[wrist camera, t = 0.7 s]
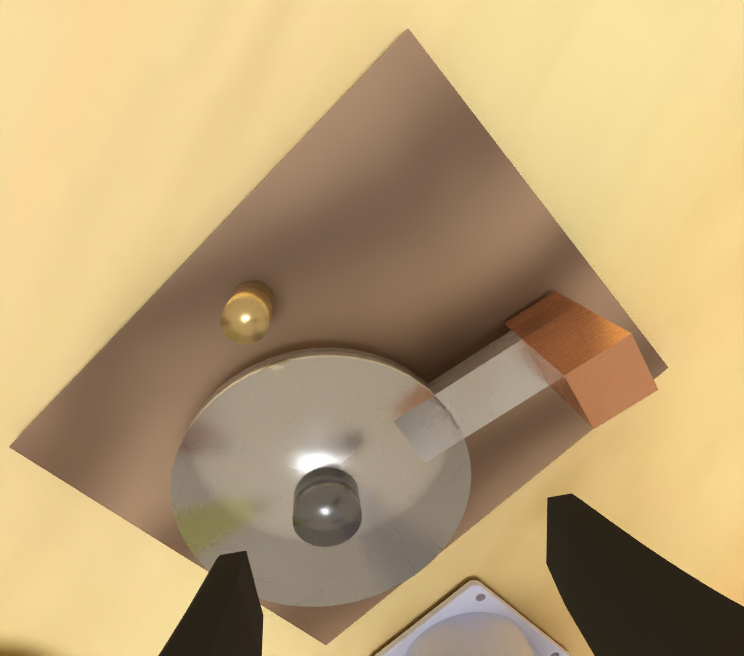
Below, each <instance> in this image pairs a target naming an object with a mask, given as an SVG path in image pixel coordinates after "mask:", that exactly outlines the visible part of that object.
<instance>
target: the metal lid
mask: <svg viewBox="0 0 744 656" xmlns="http://www.w3.org/2000/svg"><path fill="white" fill-rule="evenodd" d="M504 324H505V325H506V327H507V329H508V330H509V332H508V333H507V334H505V335H504V336H502V337H500V338H499V339H497V340H496V341H494V342H493V343H491V344H489V345H488V346H486V347H485V348H483V349H482V350H480V351H479V352H477V353H475V354H474V355H472V356H471V357H469V358H468V359H466V360H465V361H463V362H461V363H460V364H458V365H457V366H455V367H454V368H452V369H451V370H449V371H447V372H446V373H444V374H443V375H441V376H440V377H438V378H436V379H435V380H433V381H432V382H430V383H429V384H428V383H427V382H426V381H425V380H423V379H422V378H421V377H420V376H418V375H417V374H415V373H414V372H412V371H411V370H409V369H408V368H406V367H404V366H402V365H400V364H398V363H396V362H394V361H392V360H390V359H387V358H384V357H381V356H378V355H376V354H373V353H368V352H364V351H359V350H354V349H345V348H333V347H331V348H310V349H303V350H297V351H291V352H287V353H284V354H280V355H277V356H273V357H270V358H268V359H265V360H263V361H261V362H258V363H256V364H254V365H251V366H250V367H248V368H246V369H245V370H243V371H241V372H239V373H238V374H236V375H234V376H233V377H232V378H230V379H229V380H228V381H227V382H225V383H224V384H223V385H221V386H220V387H219V388H218V389H217V390H216V391H215V392H214V393H213V394H212V395H211V396H210V397H209V398H208V399H207V400H206V401H205V402H204V404H203V405H202V406H201V408H200V409H199V411H198V412H197V413H196V415H195V416H194V418H193V420H192V422H191V424H190V425H189V427H188V429H187V431H186V433H185V435H184V438H183V440H182V442H181V444H180V446H179V449H178V452H177V455H176V458H175V461H174V464H173V470H172V476H171V502H172V509H173V514H174V517H175V520H176V523H177V526H178V529H179V531H180V533H181V535H182V537H183V539H184V541H185V543H186V545H187V546H188V547H189V549H190V550H191V551H192V553H193V554H194V556H195V557H196V558H197V559H198V560H199V561H200V562H201V563H202V564H203V565H204V566H205V567H206V568H207V569H208V570H209V571H210V569H211V568H212V566H213V564H214V562H215V560H216V559H217V558H218V557H219V555H223V554H229V553H234V552H240V551H247V555H248V559H249V563H250V567H251V570H252V574H253V578H254V582H255V586H256V590H257V594H258V597H259V598H260V599H263V600H266V601H269V602H274V603H279V604H284V605H292V606H302V607H322V606H333V605H341V604H346V603H351V602H356V601H359V600H363V599H366V598H370V597H373V596H375V595H378V594H380V593H383V592H385V591H388V590H390V589H392V588H394V587H395V586H397V585H399V584H401V583H403V582H405V581H406V580H408V579H409V578H411V577H412V576H414V575H415V574H417V573H418V572H419V571H421V570H422V569H423V568H424V567H425V566H427V565H428V564H429V563H430V562H431V561H432V560H433V559H434V558H435V557H436V556H437V555H438V554H439V553H440V552H441V551H442V550H443V548H444V547H445V546H446V544H447V543H448V542H449V540H450V539H451V538H452V536H453V535H454V533H455V531H456V529H457V527H458V526H459V524H460V522H461V519H462V517H463V514H464V512H465V509H466V506H467V502H468V498H469V494H470V486H471V463H470V457H469V453H468V448H467V444H466V442H465V439H464V438H466V437H467V436H469V435H470V434H472V433H474V432H475V431H477V430H478V429H480V428H482V427H483V426H485V425H486V424H488V423H490V422H491V421H493V420H494V419H496V418H498V417H499V416H501V415H503V414H504V413H506V412H507V411H509V410H511V409H512V408H514V407H515V406H517V405H519V404H520V403H522V402H523V401H525V400H527V399H528V398H530V397H531V396H533V395H535V394H536V393H538V392H539V391H541V390H543V389H544V388H546V387H547V386H550V387H551V388H552V389H553V390H554V391H555V392H556V393H558V394H559V395H560V396H561V397H562V398H563V399H564V400H565V401H566V402H567V403H568V404H569V405H570V406H571V407H572V408H573V409H574V410H575V411H576V412H577V413H578V414H579V415H580V416H581V417H582V418H583V419H584V420H585V421H586V422H587V423H588V424H589V425H590V426H591V427H593V428H596V427H598V426H599V425H601V424H603V423H604V422H606V421H607V420H609V419H611V418H612V417H614V416H616V415H617V414H619V413H621V412H622V411H624V410H626V409H627V408H629V407H631V406H632V405H634V404H635V403H637V402H639V401H640V400H642V399H644V398H645V397H647V396H649V395H650V394H652V393H654V392H655V391H657V390H658V388H657V386H656V384H655V382H654V380H653V378H652V375H651V373H650V371H649V369H648V367H647V365H646V363H645V361H644V359H643V356H642V354H641V352H640V350H639V348H638V346H637V344H636V342H635V340H634V337H633V335H632V333H630V332H628V331H626V330H624V329H623V328H621V327H619V326H617V325H615V324H614V323H612V322H610V321H608V320H606V319H605V318H603V317H601V316H599V315H597V314H596V313H594V312H592V311H590V310H589V309H587V308H585V307H583V306H581V305H580V304H578V303H576V302H574V301H572V300H571V299H569V298H567V297H565V296H563V295H562V294H560V293H558V292H556V291H554V292H552V293H551V294H549V295H548V296H546V297H545V298H543V299H542V300H540V301H538V302H537V303H535V304H534V305H532V306H531V307H529V308H528V309H526V310H525V311H523V312H521V313H520V314H518V315H517V316H515V317H514V318H512V319H511V320H509V321H507V322H506V323H504Z"/></svg>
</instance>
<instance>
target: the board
mask: <svg viewBox="0 0 744 656" xmlns="http://www.w3.org/2000/svg"><path fill="white" fill-rule="evenodd" d="M249 280H256V281H260V282H263V283H264V284H266V285H267V286H268V287H269V288H270V289H271V290H272V292H273V294H274V299H275V303H274V308H273V312H272V316H271V320H270V324H269V327H268V331H267V333H266V334H265V336H264V337H263V338H262V339H260V340H259V341H257V342H255V343H252V344H240V343H236V342H234V341H232V340H231V339H229V338H228V337H227V336H226V335H225V334H224V332H223V330H222V328H221V324H220V317H221V313H222V311H223V309H224V308H225V306H226V304H227V302H228V301H229V299H230V297H231V296H232V294H233V292H234V290H235V289H236V287H237V286H238V285H239V284H241V283H243V282H245V281H249ZM554 291H556V292H558V293H560V294H562V295H563V296H565V297H567V298H569V299H571V300H572V301H574V302H576V303H578V304H580V305H581V306H583V307H585V308H587V309H589V310H590V311H592V312H594V313H596V314H597V315H599V316H601V317H603V318H605V319H606V320H608V321H610V322H612V323H614V324H615V325H617V326H619V327H621V328H623V329H624V330H626V331H628V332H630V333H632V335H633V337H634V340H635V342H636V344H637V346H638V348H639V350H640V352H641V354H642V356H643V359H644V361H645V363H646V365H647V367H648V369H649V371H650V373H651V375H652V378H653V380H654V379H655V378H656V377H657V376H659V375H660V374H661V373H662V372H664V371H665V370H666V369H667V368H668V367H667V365H666V364H665V363H664V361H663V360H662V359H661V357H660V356H659V355H658V354H657V352H656V351H655V350H654V348H653V347H652V346H651V344H650V343H649V342H648V341H647V339H646V338H645V337H644V335H643V334H642V333H641V331H640V330H639V329H638V328H637V326H636V325H635V324H634V322H633V321H632V320H631V318H630V317H629V316H628V314H627V313H626V312H625V311H624V309H623V308H622V307H621V305H620V304H619V303H618V301H617V300H616V299H615V298H614V296H613V295H612V294H611V292H610V291H609V290H608V288H607V287H606V286H605V284H604V283H603V282H602V281H601V279H600V278H599V277H598V275H597V274H596V273H595V271H594V270H593V269H592V268H591V266H590V265H589V264H588V262H587V261H586V260H585V258H584V257H583V256H582V255H581V253H580V252H579V251H578V249H577V248H576V247H575V245H574V244H573V243H572V241H571V240H570V239H569V238H568V236H567V235H566V234H565V232H564V231H563V230H562V228H561V227H560V226H559V225H558V223H557V222H556V221H555V219H554V218H553V217H552V215H551V214H550V213H549V211H548V210H547V209H546V208H545V206H544V205H543V204H542V202H541V201H540V200H539V198H538V197H537V196H536V195H535V193H534V192H533V191H532V189H531V188H530V187H529V185H528V184H527V183H526V182H525V180H524V179H523V178H522V176H521V175H520V174H519V172H518V171H517V170H516V168H515V167H514V166H513V165H512V163H511V162H510V161H509V159H508V158H507V157H506V155H505V154H504V153H503V152H502V150H501V149H500V148H499V146H498V145H497V144H496V142H495V141H494V140H493V138H492V137H491V136H490V135H489V133H488V132H487V131H486V129H485V128H484V127H483V125H482V124H481V123H480V122H479V120H478V119H477V118H476V116H475V115H474V114H473V112H472V111H471V110H470V109H469V107H468V106H467V105H466V103H465V102H464V101H463V99H462V98H461V97H460V95H459V94H458V93H457V92H456V90H455V89H454V88H453V86H452V85H451V84H450V82H449V81H448V80H447V79H446V77H445V76H444V75H443V73H442V72H441V71H440V69H439V68H438V67H437V65H436V64H435V63H434V62H433V60H432V59H431V58H430V56H429V55H428V54H427V52H426V51H425V50H424V49H423V47H422V46H421V45H420V43H419V42H418V41H417V39H416V38H415V37H414V36H413V34H412V33H411V32H410V30H409V29H407V30H406V31H405V32H404V33H403V34H402V35H401V36H400V37H399V38H398V39H397V40H396V41H395V42H394V43H393V44H392V46H391V47H390V48H389V49H388V50H387V51H386V52H385V53H384V54H383V55H382V56H381V57H380V58H379V59H378V60H377V61H376V62H375V63H374V64H373V65H372V67H371V68H370V69H369V70H368V71H367V72H366V73H365V74H364V75H363V76H362V77H361V78H360V79H359V80H358V81H357V82H356V83H355V84H354V85H353V86H352V88H351V89H350V90H349V91H348V92H347V93H346V94H345V95H344V96H343V97H342V98H341V99H340V100H339V101H338V102H337V103H336V104H335V105H334V106H333V107H332V108H331V110H330V111H329V112H328V113H327V114H326V115H325V116H324V117H323V118H322V119H321V120H320V121H319V122H318V123H317V124H316V125H315V126H314V127H313V128H312V129H311V131H310V132H309V133H308V134H307V135H306V136H305V137H304V138H303V139H302V140H301V141H300V142H299V143H298V144H297V145H296V146H295V147H294V148H293V149H292V150H291V152H290V153H289V154H288V155H287V156H286V157H285V158H284V159H283V160H282V161H281V162H280V163H279V164H278V165H277V166H276V167H275V168H274V169H273V170H272V171H271V173H270V174H269V175H268V176H267V177H266V178H265V179H264V180H263V181H262V182H261V183H260V184H259V185H258V186H257V187H256V188H255V189H254V190H253V191H252V192H251V193H250V195H249V196H248V197H247V198H246V199H245V200H244V201H243V202H242V203H241V204H240V205H239V206H238V207H237V208H236V209H235V210H234V211H233V212H232V213H231V214H230V216H229V217H228V218H227V219H226V220H225V221H224V222H223V223H222V224H221V225H220V226H219V227H218V228H217V229H216V230H215V231H214V232H213V233H212V234H211V235H210V237H209V238H208V239H207V240H206V241H205V242H204V243H203V244H202V245H201V246H200V247H199V248H198V249H197V250H196V251H195V252H194V253H193V254H192V255H191V256H190V257H189V259H188V260H187V261H186V262H185V263H184V264H183V265H182V266H181V267H180V268H179V269H178V270H177V271H176V272H175V273H174V274H173V275H172V276H171V277H170V278H169V280H168V281H167V282H166V283H165V284H164V285H163V286H162V287H161V288H160V289H159V290H158V291H157V292H156V293H155V294H154V295H153V296H152V297H151V298H150V299H149V301H148V302H147V303H146V304H145V305H144V306H143V307H142V308H141V309H140V310H139V311H138V312H137V313H136V314H135V315H134V316H133V317H132V318H131V319H130V320H129V321H128V323H127V324H126V325H125V326H124V327H123V328H122V329H121V330H120V331H119V332H118V333H117V334H116V335H115V336H114V337H113V338H112V339H111V340H110V341H109V342H108V344H107V345H106V346H105V347H104V348H103V349H102V350H101V351H100V352H99V353H98V354H97V355H96V356H95V357H94V358H93V359H92V360H91V361H90V362H89V363H88V365H87V366H86V367H85V368H84V369H83V370H82V371H81V372H80V373H79V374H78V375H77V376H76V377H75V378H74V379H73V380H72V381H71V382H70V383H69V384H68V385H67V387H66V388H65V389H64V390H63V391H62V392H61V393H60V394H59V395H58V396H57V397H56V398H55V399H54V400H53V401H52V402H51V403H50V404H49V405H48V406H47V408H46V409H45V410H44V411H43V412H42V413H41V414H40V415H39V416H38V417H37V418H36V419H35V420H34V421H33V422H32V423H31V424H30V425H29V426H28V427H27V429H26V430H25V431H24V432H23V433H22V434H21V435H20V436H19V437H18V438H17V439H16V440H15V441H14V442H13V443H12V444H11V445H10V446H9V447H10V448H11V449H13V450H15V451H16V452H18V453H19V454H21V455H23V456H24V457H26V458H27V459H29V460H31V461H32V462H34V463H35V464H37V465H39V466H40V467H42V468H43V469H45V470H47V471H48V472H50V473H51V474H53V475H55V476H56V477H58V478H59V479H61V480H63V481H64V482H66V483H67V484H69V485H71V486H72V487H74V488H75V489H77V490H79V491H80V492H82V493H83V494H85V495H87V496H88V497H90V498H91V499H93V500H95V501H96V502H98V503H99V504H101V505H103V506H104V507H106V508H107V509H109V510H111V511H112V512H114V513H115V514H117V515H119V516H120V517H122V518H123V519H125V520H127V521H128V522H130V523H131V524H133V525H135V526H136V527H138V528H139V529H141V530H143V531H144V532H146V533H147V534H149V535H151V536H152V537H154V538H155V539H157V540H159V541H160V542H162V543H163V544H165V545H167V546H168V547H170V548H171V549H173V550H175V551H176V552H178V553H179V554H181V555H183V556H184V557H186V558H187V559H189V560H191V561H192V562H194V563H195V564H197V565H199V566H200V567H202V568H203V569H205V570H207V571H208V572H209V570H208V569H207V568H206V567H205V566H204V565H203V564H202V563H201V562H200V561H199V560H198V559H197V558H196V557H195V556H194V554H193V553H192V551H191V550H190V549H189V547H188V546H187V545H186V543H185V541H184V539H183V537H182V535H181V533H180V531H179V529H178V526H177V523H176V520H175V517H174V514H173V509H172V502H171V476H172V470H173V464H174V461H175V458H176V455H177V452H178V449H179V446H180V444H181V442H182V440H183V438H184V435H185V433H186V431H187V429H188V427H189V425H190V424H191V422H192V420H193V418H194V416H195V415H196V413H197V412H198V411H199V409H200V408H201V406H202V405H203V404H204V402H205V401H206V400H207V399H208V398H209V397H210V396H211V395H212V394H213V393H214V392H215V391H216V390H217V389H218V388H219V387H220V386H221V385H223V384H224V383H225V382H227V381H228V380H229V379H230V378H232V377H233V376H234V375H236V374H238V373H239V372H241V371H243V370H245V369H246V368H248V367H250V366H251V365H254V364H256V363H258V362H261V361H263V360H265V359H268V358H270V357H273V356H277V355H280V354H284V353H287V352H291V351H297V350H303V349H310V348H331V347H333V348H345V349H354V350H359V351H364V352H368V353H373V354H376V355H378V356H381V357H384V358H387V359H390V360H392V361H394V362H396V363H398V364H400V365H402V366H404V367H406V368H408V369H409V370H411V371H412V372H414V373H415V374H417V375H418V376H420V377H421V378H422V379H423V380H425V381H426V382H427V383H428V384H429V383H430V382H432V381H433V380H435V379H436V378H438V377H440V376H441V375H443V374H444V373H446V372H447V371H449V370H451V369H452V368H454V367H455V366H457V365H458V364H460V363H461V362H463V361H465V360H466V359H468V358H469V357H471V356H472V355H474V354H475V353H477V352H479V351H480V350H482V349H483V348H485V347H486V346H488V345H489V344H491V343H493V342H494V341H496V340H497V339H499V338H500V337H502V336H504V335H505V334H507V333H508V332H509V330H508V329H507V327H506V325H505V324H504V323H506V322H507V321H509V320H511V319H512V318H514V317H515V316H517V315H518V314H520V313H521V312H523V311H525V310H526V309H528V308H529V307H531V306H532V305H534V304H535V303H537V302H538V301H540V300H542V299H543V298H545V297H546V296H548V295H549V294H551V293H552V292H554ZM592 429H593V427H591V426H590V425H589V424H588V423H587V422H586V421H585V420H584V419H583V418H582V417H581V416H580V415H579V414H578V413H577V412H576V411H575V410H574V409H573V408H572V407H571V406H570V405H569V404H568V403H567V402H566V401H565V400H564V399H563V398H562V397H561V396H560V395H559V394H558V393H556V392H555V391H554V390H553V389H552V388H551V387H550V386H547V387H546V388H544V389H543V390H541V391H539V392H538V393H536V394H535V395H533V396H531V397H530V398H528V399H527V400H525V401H523V402H522V403H520V404H519V405H517V406H515V407H514V408H512V409H511V410H509V411H507V412H506V413H504V414H503V415H501V416H499V417H498V418H496V419H494V420H493V421H491V422H490V423H488V424H486V425H485V426H483V427H482V428H480V429H478V430H477V431H475V432H474V433H472V434H470V435H469V436H467V437H466V438H464V439H465V442H466V444H467V448H468V453H469V457H470V463H471V486H470V494H469V498H468V502H467V506H466V509H465V512H464V514H463V517H462V519H461V522H460V524H459V526H458V527H457V529H456V531H455V533H454V535H453V536H452V538H451V539H450V540H449V542H448V543H447V544H446V546H445V547H444V548H443V550H444V549H445V548H447V547H448V546H449V545H450V544H451V543H453V542H454V541H455V540H456V539H458V538H459V537H460V536H461V535H463V534H464V533H465V532H466V531H467V530H469V529H470V528H471V527H472V526H474V525H475V524H476V523H477V522H479V521H480V520H481V519H482V518H484V517H485V516H486V515H487V514H488V513H490V512H491V511H492V510H493V509H495V508H496V507H497V506H498V505H500V504H501V503H502V502H503V501H504V500H506V499H507V498H508V497H509V496H511V495H512V494H513V493H514V492H516V491H517V490H518V489H519V488H521V487H522V486H523V485H524V484H525V483H527V482H528V481H529V480H530V479H532V478H533V477H534V476H535V475H537V474H538V473H539V472H540V471H541V470H543V469H544V468H545V467H546V466H548V465H549V464H550V463H551V462H553V461H554V460H555V459H556V458H558V457H559V456H560V455H561V454H562V453H564V452H565V451H566V450H567V449H569V448H570V447H571V446H572V445H574V444H575V443H576V442H577V441H578V440H580V439H581V438H582V437H583V436H585V435H586V434H587V433H588V432H590V431H591V430H592ZM443 550H442V551H443ZM442 551H441V552H442ZM401 584H402V583H401ZM401 584H399V585H397V586H395V587H394V588H392V589H390V590H388V591H385V592H383V593H380V594H378V595H375V596H373V597H370V598H366V599H363V600H359V601H356V602H351V603H346V604H341V605H333V606H322V607H302V606H292V605H284V604H279V603H274V602H269V601H266V600H263V599H260V598H259V601H260V604H261V605H262V606H264V607H266V608H267V609H269V610H270V611H272V612H274V613H275V614H277V615H278V616H280V617H282V618H283V619H285V620H286V621H288V622H290V623H291V624H293V625H294V626H296V627H298V628H299V629H301V630H302V631H304V632H306V633H307V634H309V635H310V636H312V637H314V638H315V639H317V640H318V641H320V642H322V643H323V644H325V645H327V644H328V643H329V642H331V641H332V640H333V639H334V638H336V637H337V636H338V635H339V634H340V633H342V632H343V631H344V630H345V629H347V628H348V627H349V626H350V625H352V624H353V623H354V622H355V621H357V620H358V619H359V618H360V617H361V616H363V615H364V614H365V613H366V612H368V611H369V610H370V609H371V608H373V607H374V606H375V605H376V604H377V603H379V602H380V601H381V600H382V599H384V598H385V597H386V596H387V595H389V594H390V593H391V592H392V591H394V590H395V589H396V588H397V587H398V586H400V585H401Z"/></svg>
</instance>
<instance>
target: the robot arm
mask: <svg viewBox="0 0 744 656" xmlns="http://www.w3.org/2000/svg"><path fill="white" fill-rule="evenodd" d="M546 563H547V566H548V568H549V570H550V573H551V575H552V577H553V579H554V582H555V584H556V586H557V588H558V591H559V593H560V595H561V597H562V599H563V601H564V603H565V605H566V607H567V609H568V611H569V613H570V614H571V616H572V618H573V620H574V621H575V623H576V625H577V626H578V628H579V630H580V632H581V633H582V635H583V637H584V638H585V640H586V642H587V643H588V645H589V647H590V648H591V650H592V652H593V653H594V655H595V656H744V607H743V606H741V605H740V604H738V603H736V602H734V601H732V600H730V599H729V598H727V597H725V596H724V595H722V594H720V593H718V592H717V591H715V590H713V589H712V588H710V587H708V586H707V585H705V584H703V583H702V582H700V581H699V580H697V579H695V578H694V577H692V576H691V575H689V574H687V573H686V572H684V571H683V570H681V569H679V568H678V567H676V566H675V565H673V564H672V563H670V562H669V561H667V560H666V559H664V558H662V557H661V556H660V555H658V554H657V553H655V552H654V551H652V550H651V549H649V548H648V547H646V546H645V545H643V544H642V543H640V542H639V541H638V540H636V539H635V538H633V537H632V536H630V535H629V534H628V533H626V532H625V531H623V530H622V529H621V528H619V527H618V526H616V525H615V524H614V523H612V522H611V521H609V520H608V519H607V518H605V517H604V516H602V515H601V514H600V513H598V512H597V511H596V510H594V509H593V508H591V507H590V506H589V505H587V504H586V503H585V502H583V501H582V500H580V499H579V498H578V497H576V496H575V495H573V494H566V495H561V496H555V497H549V498H548V500H547V559H546ZM478 594H479V595H478ZM262 635H263V613H262V609H261V605H260V601H259V597H258V594H257V590H256V586H255V582H254V578H253V574H252V570H251V567H250V563H249V559H248V555H247V551H240V552H234V553H229V554H223V555H219V557H218V558H217V559H216V560H215V562H214V564H213V566H212V568H211V569H210V571H209V573H208V575H207V576H206V578H205V580H204V582H203V584H202V585H201V587H200V589H199V591H198V592H197V594H196V596H195V597H194V599H193V601H192V602H191V604H190V606H189V608H188V609H187V611H186V613H185V614H184V616H183V618H182V619H181V621H180V622H179V624H178V626H177V627H176V629H175V630H174V632H173V634H172V635H171V637H170V638H169V640H168V642H167V643H166V645H165V646H164V648H163V650H162V651H161V653H160V654H159V656H262ZM375 656H570V654H569V653H568V652H567V651H566V650H565V649H563V648H562V647H561V646H560V645H558V644H557V643H556V642H555V641H553V640H552V639H551V638H550V637H548V636H547V635H546V634H545V633H543V632H542V631H541V630H540V629H538V628H537V627H536V626H535V625H533V624H532V623H531V622H530V621H528V620H527V619H526V618H525V617H523V616H522V615H521V614H520V613H518V612H517V611H516V610H515V609H513V608H512V607H511V606H510V605H508V604H507V603H506V602H505V601H503V600H502V599H501V598H500V597H498V596H497V595H496V594H495V593H493V592H492V591H491V590H490V589H488V588H487V587H486V586H485V585H483V584H482V583H481V582H479V581H477V580H471V581H469V582H467V583H466V584H465V585H463V586H462V587H461V588H459V589H458V590H457V591H456V592H454V593H453V594H452V595H451V596H449V597H448V598H447V599H446V600H444V601H443V602H442V603H440V604H439V605H438V606H437V607H435V608H434V609H433V610H432V611H430V612H429V613H428V614H426V615H425V616H424V617H423V618H421V619H420V620H419V621H418V622H416V623H415V624H414V625H413V626H411V627H410V628H409V629H407V630H406V631H405V632H404V633H402V634H401V635H400V636H399V637H397V638H396V639H395V640H394V641H392V642H391V643H390V644H388V645H387V646H386V647H385V648H383V649H382V650H381V651H380V652H378V653H377V654H376V655H375Z"/></svg>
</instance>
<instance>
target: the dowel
mask: <svg viewBox="0 0 744 656" xmlns="http://www.w3.org/2000/svg"><path fill="white" fill-rule="evenodd" d="M274 303H275V299H274V294H273V292H272V290H271V289H270V288H269V287H268V286H267V285H266V284H264V283H263V282H260V281H256V280H249V281H245V282H243V283H241V284H239V285H238V286H237V287H236V289H235V290H234V292H233V294H232V296H231V297H230V299H229V301H228V302H227V304H226V306H225V308H224V309H223V311H222V313H221V317H220V324H221V328H222V330H223V332H224V334H225V335H226V336H227V337H228V338H229V339H231V340H232V341H234V342H236V343H240V344H252V343H255V342H257V341H259V340H260V339H262V338H263V337H264V336H265V334H266V333H267V331H268V327H269V324H270V320H271V316H272V312H273V308H274Z"/></svg>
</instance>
